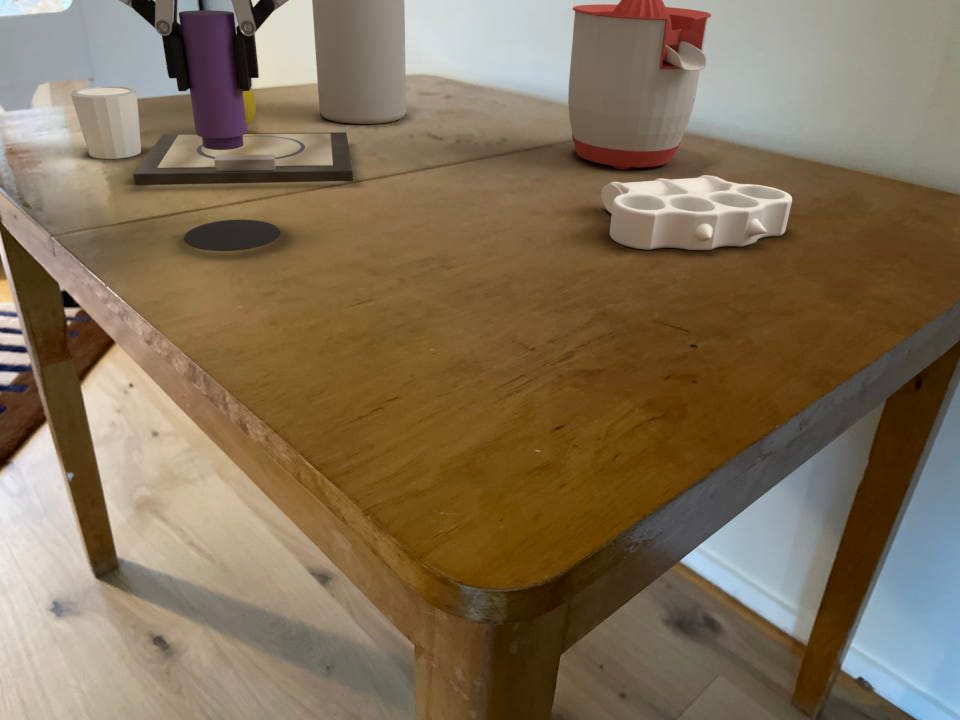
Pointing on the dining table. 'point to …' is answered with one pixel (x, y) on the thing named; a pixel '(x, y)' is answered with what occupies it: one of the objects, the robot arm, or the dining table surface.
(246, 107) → the lemon
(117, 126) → the white cup
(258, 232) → the coaster
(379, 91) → the cylinder vase
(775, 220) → the knuckle duster
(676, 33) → the citrus juicer
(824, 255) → the dining table surface
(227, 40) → the cylinder
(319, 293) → the dining table surface
